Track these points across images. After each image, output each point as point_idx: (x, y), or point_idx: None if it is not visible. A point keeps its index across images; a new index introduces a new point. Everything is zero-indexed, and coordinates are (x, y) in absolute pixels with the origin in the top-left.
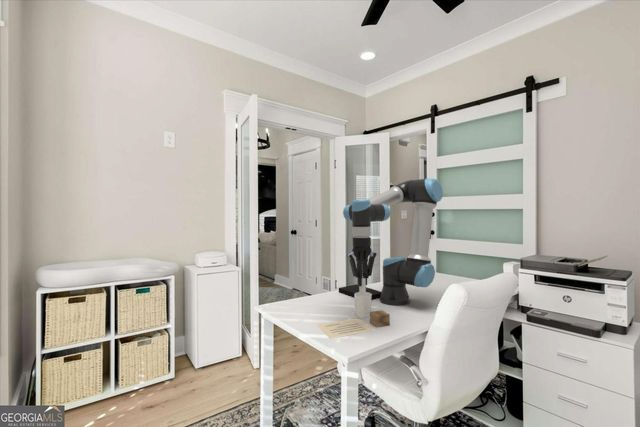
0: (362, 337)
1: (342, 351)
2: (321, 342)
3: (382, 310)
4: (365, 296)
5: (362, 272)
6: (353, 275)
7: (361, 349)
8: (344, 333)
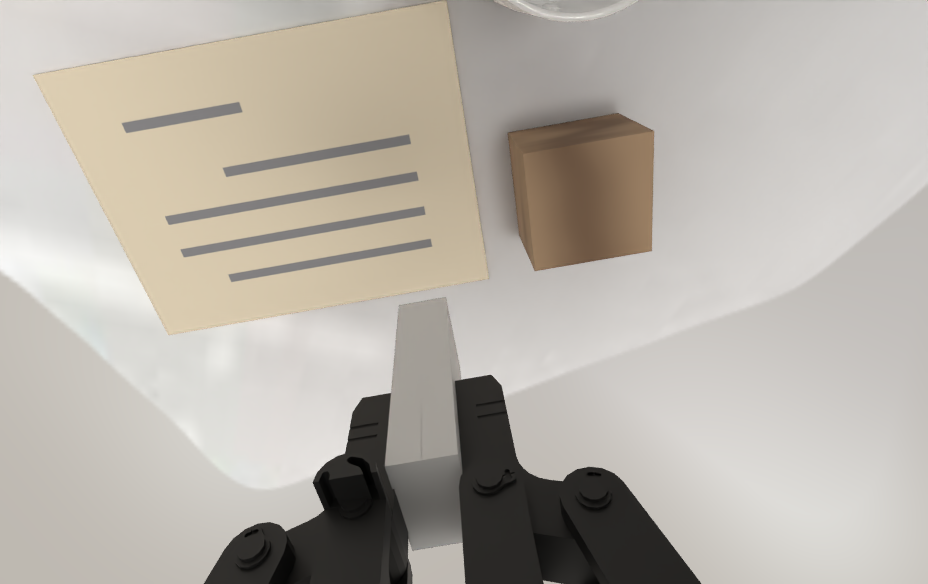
0: (374, 344)
1: (235, 458)
2: (116, 361)
3: (653, 144)
4: (566, 17)
5: (464, 556)
6: (231, 564)
7: (332, 455)
8: (269, 285)
